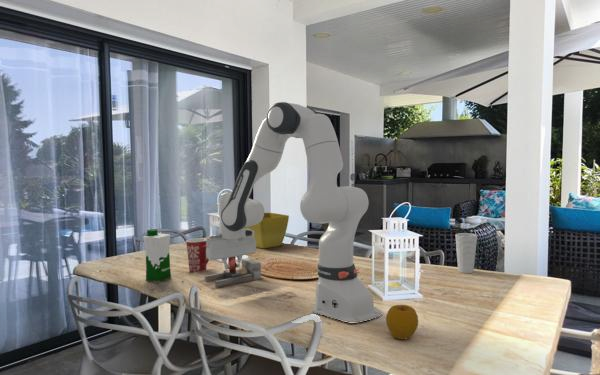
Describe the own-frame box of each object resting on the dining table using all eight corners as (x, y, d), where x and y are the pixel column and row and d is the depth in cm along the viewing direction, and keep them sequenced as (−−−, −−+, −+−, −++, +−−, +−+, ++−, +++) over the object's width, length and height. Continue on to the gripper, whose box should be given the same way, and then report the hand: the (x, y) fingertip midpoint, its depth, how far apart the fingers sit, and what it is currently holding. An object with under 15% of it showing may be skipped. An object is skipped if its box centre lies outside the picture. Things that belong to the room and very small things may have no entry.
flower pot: (269, 240, 252) (269, 212, 251) (290, 245, 238) (289, 215, 237) (242, 245, 240) (241, 215, 239) (261, 251, 226) (261, 219, 224)
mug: (182, 271, 188) (181, 240, 187) (199, 266, 195) (198, 237, 194) (201, 276, 181) (200, 243, 180) (218, 271, 188) (217, 240, 187)
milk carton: (156, 275, 183) (154, 228, 181) (174, 276, 180) (172, 228, 179) (142, 280, 175) (140, 231, 173) (161, 282, 172) (159, 232, 170)
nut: (249, 277, 171) (249, 267, 171) (240, 279, 169) (240, 269, 169) (244, 275, 175) (244, 265, 174) (235, 277, 172) (235, 267, 172)
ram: (241, 280, 168) (240, 257, 167) (232, 282, 165) (231, 258, 165) (232, 276, 173) (232, 253, 173) (223, 278, 171) (223, 255, 170)
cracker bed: (264, 282, 170) (264, 263, 169) (212, 293, 157) (212, 273, 156) (247, 274, 181) (246, 257, 181) (197, 284, 168) (196, 265, 168)
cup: (455, 273, 178) (455, 236, 176) (454, 268, 186) (454, 232, 184) (477, 275, 175) (478, 237, 174) (475, 269, 183) (476, 233, 182)
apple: (403, 347, 111) (403, 314, 110) (378, 336, 118) (378, 305, 117) (424, 339, 116) (425, 306, 115) (400, 329, 123) (400, 298, 122)
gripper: (209, 237, 159) (210, 274, 160) (257, 230, 171) (258, 265, 172) (202, 234, 164) (203, 270, 165) (249, 228, 176) (250, 262, 177)
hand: (232, 268), depth 169 cm, fingers closed on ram, 3 cm apart
